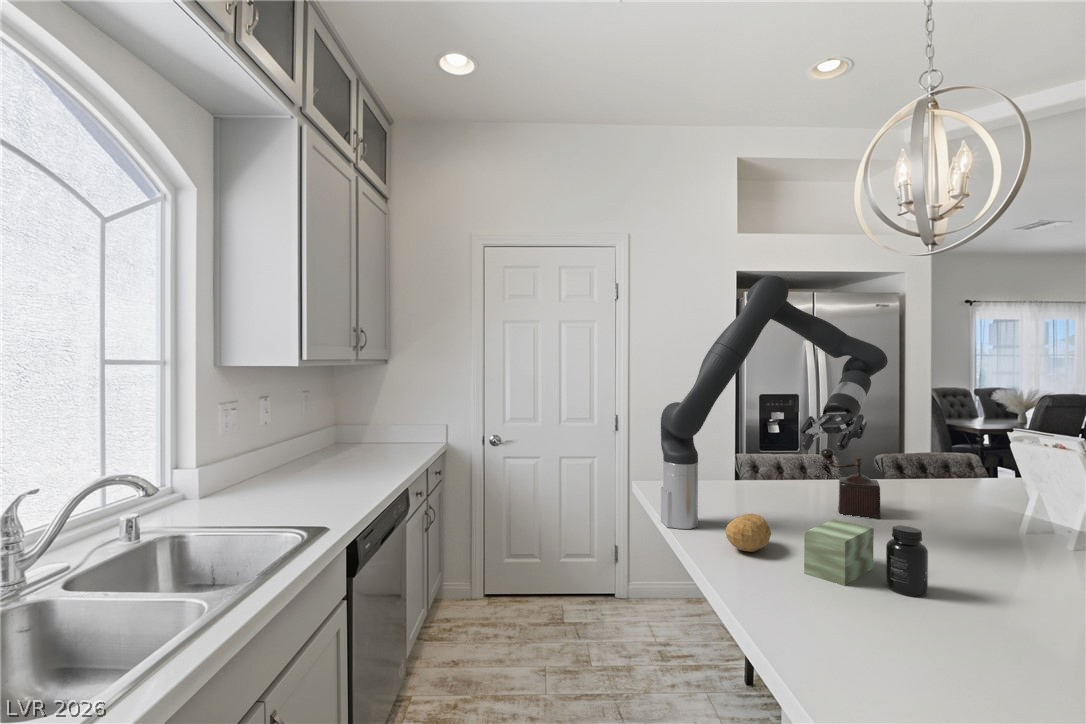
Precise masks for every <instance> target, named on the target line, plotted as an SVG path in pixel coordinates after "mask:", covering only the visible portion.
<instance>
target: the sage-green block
mask: <svg viewBox="0 0 1086 724" xmlns="http://www.w3.org/2000/svg"><path fill="white" fill-rule="evenodd" d="M874 529H875V528H874V527H873V526H871V525H865V524H859V523H856V522H851V521H847V520H842V519H837V518H833V519H832V520H829V521H827V522H824V523H822V524H819V525H817V526H814V527H813V528H811V529H808V530H805V531H804V537H803V538H804V542H803V543H804V547H803V548H804V549H803V550H804V552H803V553H804V556H803V557H804V559H803V569H804V571H803V573H804V575H807V576H810V577H813V578H818V579H820V580H824V581H827V582H830V583H833V584H836V583H837V585H841V586H843V587H845V586H847V585H848V583H849V584H850V583H852V582H853V580H854V581H855V580H857V579H858V578H860V577H861V576H863V575H864V573H865V574H866V573H868V572H869V571H872V570H873V569H874V538H875V537H874ZM872 568H873V569H872ZM867 571H868V572H867ZM856 578H857V579H856ZM851 581H852V582H851Z"/></svg>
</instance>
